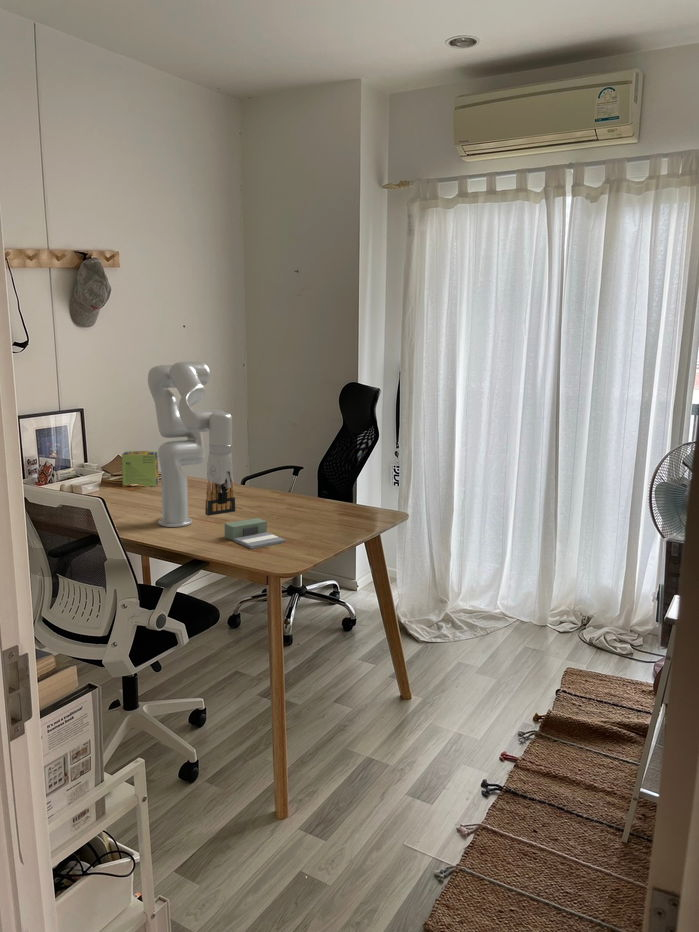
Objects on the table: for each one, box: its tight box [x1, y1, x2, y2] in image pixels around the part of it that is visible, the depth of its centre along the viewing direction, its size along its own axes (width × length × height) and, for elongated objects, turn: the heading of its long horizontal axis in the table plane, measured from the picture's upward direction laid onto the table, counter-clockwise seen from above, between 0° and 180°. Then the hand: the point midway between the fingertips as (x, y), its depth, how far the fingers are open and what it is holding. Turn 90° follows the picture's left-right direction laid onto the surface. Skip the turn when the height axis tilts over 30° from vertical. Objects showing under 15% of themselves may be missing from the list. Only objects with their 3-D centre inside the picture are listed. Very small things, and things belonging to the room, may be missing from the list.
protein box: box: [121, 450, 160, 487], centre depth 346 cm, size 10×15×16 cm
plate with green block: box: [224, 517, 286, 550], centre depth 262 cm, size 18×14×5 cm
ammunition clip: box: [204, 480, 236, 517], centre depth 250 cm, size 11×2×12 cm, turn 129°
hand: (220, 502), depth 251 cm, fingers closed on ammunition clip, 2 cm apart
